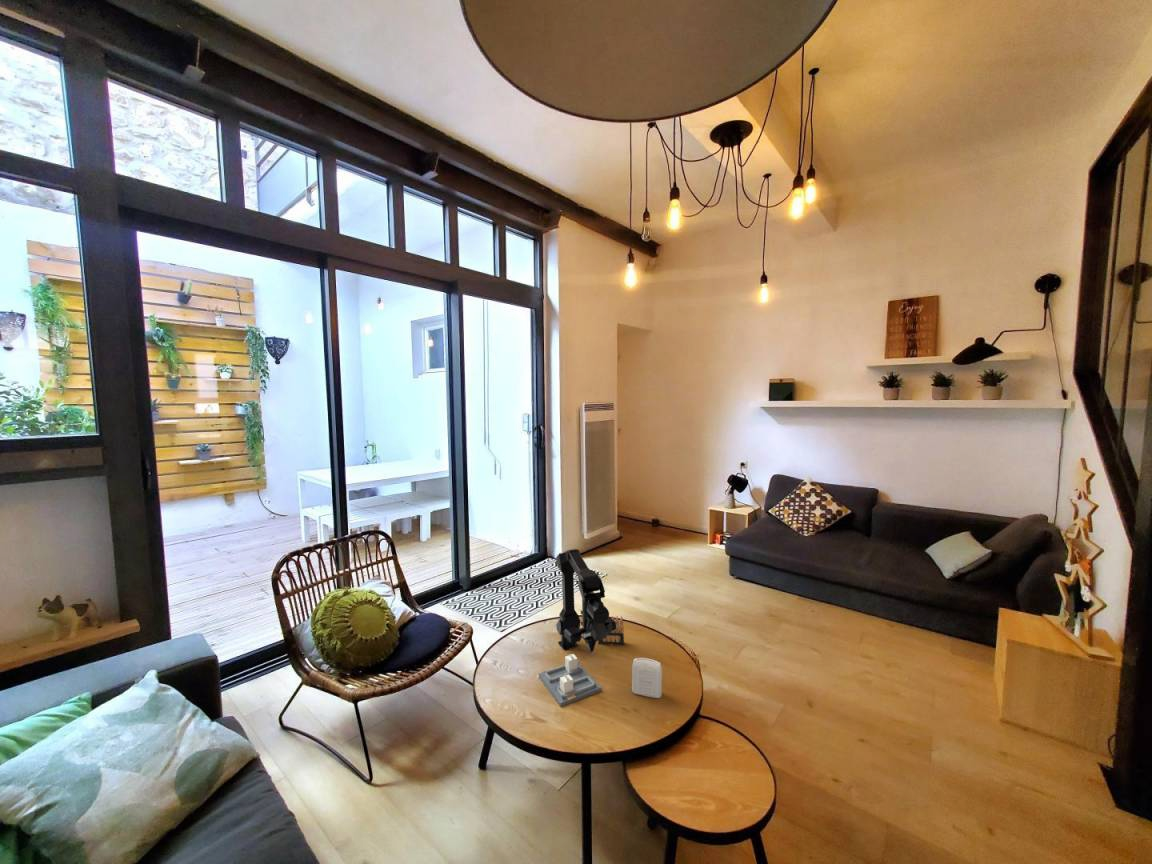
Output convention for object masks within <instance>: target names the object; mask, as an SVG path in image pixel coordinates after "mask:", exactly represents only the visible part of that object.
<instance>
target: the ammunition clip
mask: <svg viewBox="0 0 1152 864" xmlns="http://www.w3.org/2000/svg"><path fill="white" fill-rule="evenodd" d="M611 619H613V620H614V621H615V622H616V624H617V629H616V630H613V631H611V633H609V634H607V637H606V638H605V639H601V640H599V641H597V642H598V643H597V644H598V645H610V644H613V645H612V646H624V645H625V636H624V635H625V634H624V633H625V632H624V627H625V626H624V620H623V619H624V618H623V616H620V619H619V617H618V615H617V616H616V617H614V615H612V616H611Z"/></svg>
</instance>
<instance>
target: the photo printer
mask: <svg viewBox="0 0 1152 864" xmlns="http://www.w3.org/2000/svg"><path fill="white" fill-rule="evenodd" d="M632 661H633V662H632V665H631V692H632V693H633V694H635V695H639V696H643V697H648V698H649V697H650V698H653V699H654V698H655V699H661V697H662V695H663V694H662V693H663V686H662V685H663V684H662V682H663V681H662V680H663V668H662V664H661V662H659V661H657V660H654V659H652V658H647V657H635V658H634V659H633V660H632Z"/></svg>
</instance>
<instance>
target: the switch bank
mask: <svg viewBox="0 0 1152 864" xmlns="http://www.w3.org/2000/svg"><path fill="white" fill-rule="evenodd" d="M577 665H578V669H576V670H573V671H570V672H568V671H567V670H566V669H565V664H562V665H560V666H556V667H553V668H551V669H547V670H544V671H543V672H540V673H538V677H539V679H540V681H541V682H542V683H543V685H544V686H545V688H546V689H547V691H548V692H549V693H550V695H551V696H552V697H553V698H554V700H555V702H556V703H557V704H558V706H559V707H563V706H566V705H568V704H571V703H574V702H576V701H578V700H581V699H584V698H586V697H589V696H592V695H594V694H596V693H599V692H601V691H602V686H601V685H600V684H599V683H598V682H597V681H596V679H594V678H593V676H592V675H590V673H589V672H588V671H587V670H586V669H585V667H583V665H582V664H581V663H580V662H579V661H578V660H577ZM568 674H569V675H570V676H571V678H572V679H573V691H572V692H569V693H567V694H564V695H563V693H562V692H561V691H560V677H563V676H564V675H568Z"/></svg>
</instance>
